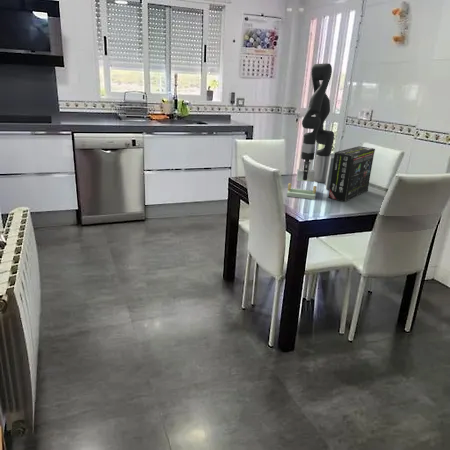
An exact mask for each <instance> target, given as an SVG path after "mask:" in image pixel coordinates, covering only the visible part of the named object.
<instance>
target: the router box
mask: <svg viewBox="0 0 450 450" xmlns="http://www.w3.org/2000/svg"><path fill="white" fill-rule="evenodd" d="M375 151H376V148H372V147H366V146H359V145H358V146H355V147H351V148H347V149H344V150H338V151H335V152H334V153H333V154H334V161H333V168H332V176H331V182H330V189H328V198H330V199H331V200H332V199H333V200H336V201H342V202H344V203H346V202H348V201H350V200H351V199H354V198H356V197H358V196H360V195H361V194H364V193H366V192H368V191H369V185H370V179H371V173H372V167H373V162H374V161H373V160H374V157H375V156H374V155H375Z"/></svg>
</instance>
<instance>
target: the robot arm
mask: <svg viewBox="0 0 450 450" xmlns="http://www.w3.org/2000/svg"><path fill="white" fill-rule="evenodd" d="M332 73H333V67H332V65H331V64H330V63H328V62H327V63H314V64H313V65H312V67H311V80H312V81H311V82H312V88H313V94H312V95H311V97H310V100H309V103H308V104H309V105H308V108H307V111H306V112H305V115H304V116H303V119H302V122H301V125H302V128H303V129H309V130H312V131H311V132H305V133H304V135H303V142H302V146H301V155H300V157H301V159H302V160H304V161H303V164H302V165H303V168H302V169H303V170H304V172H303V173H304V176H303V180H307V174H308V170H310V165H311V162H310V161H313V160H314V166H313V170H314V171H315V175H314V182H317V183H326V177H327V171H328V164H329V158H330V154H332V150H333V145H334V141H335V133H334V131H332V130H327V129H324V123H325V121H326V119H327V118H328V117H329V115H330V113H331V101H330V98H329V97H328V94H327V93H326V92H327V89H328V86H329V83H330V81H331V78H332ZM320 81H322V82H320ZM316 144H318V145H323V146H324V147H323V148H320V149H317V150H316ZM315 152H316V153H315ZM305 170H307V172H305Z"/></svg>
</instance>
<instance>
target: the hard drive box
mask: <svg viewBox="0 0 450 450" xmlns="http://www.w3.org/2000/svg"><path fill="white" fill-rule="evenodd" d="M333 161H334V153H331V154H330V158H329V164H328V171H327V177H326V182H325V190H330V182H331V176H332V168H333Z"/></svg>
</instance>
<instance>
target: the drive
mask: <svg viewBox="0 0 450 450" xmlns="http://www.w3.org/2000/svg"><path fill="white" fill-rule="evenodd" d="M303 172H304V170H303V168H297V169H296V182H308V183H309V182H311V183H312V182H313V183H314V182H315V181H314V175H315V171H314V169H309V170H308V174H307V180H303V176H304V173H303ZM305 172H307V170H305Z"/></svg>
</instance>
